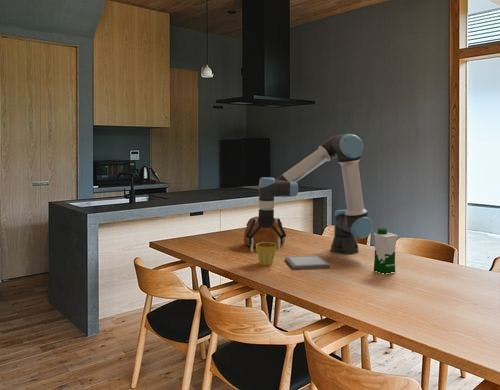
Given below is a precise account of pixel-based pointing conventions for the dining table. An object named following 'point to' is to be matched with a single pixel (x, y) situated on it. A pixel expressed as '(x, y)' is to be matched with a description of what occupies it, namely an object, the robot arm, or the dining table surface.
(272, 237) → the bread
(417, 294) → the dining table surface
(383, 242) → the milk carton
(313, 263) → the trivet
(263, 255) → the plant pot
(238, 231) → the dining table surface
